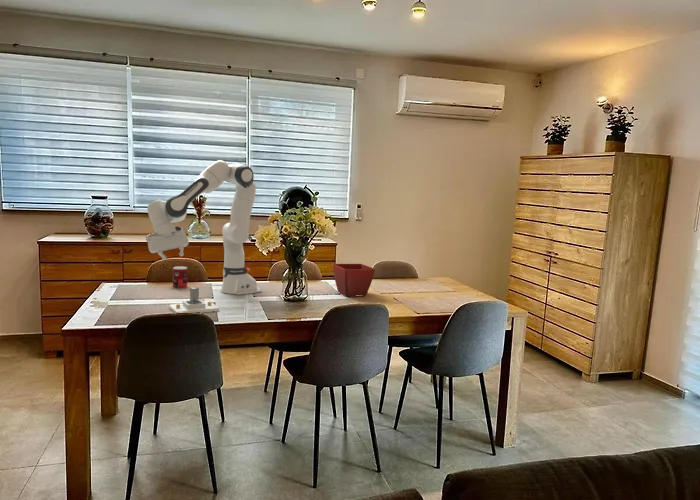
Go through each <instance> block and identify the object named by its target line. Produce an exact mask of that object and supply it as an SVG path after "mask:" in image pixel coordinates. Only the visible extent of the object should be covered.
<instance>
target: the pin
mask: <svg viewBox="0 0 700 500" xmlns="http://www.w3.org/2000/svg"><path fill="white" fill-rule="evenodd" d="M199 290H200V287H196V286H192V287H189V300H190V304H199V300H200V299H199V297H200V296H199V295H200V293H199Z"/></svg>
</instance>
